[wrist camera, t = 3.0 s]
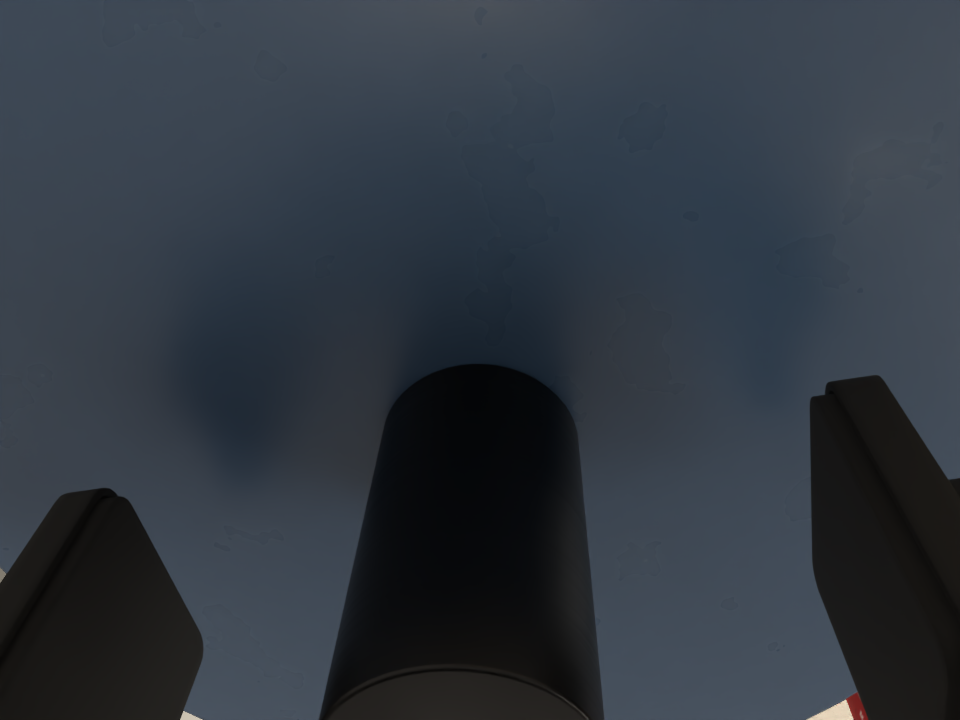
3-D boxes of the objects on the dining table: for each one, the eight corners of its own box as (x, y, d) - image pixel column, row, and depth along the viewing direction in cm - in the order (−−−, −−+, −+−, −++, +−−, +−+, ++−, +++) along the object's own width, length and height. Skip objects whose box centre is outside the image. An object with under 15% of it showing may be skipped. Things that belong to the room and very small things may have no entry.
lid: (1172, -455, 8) (2342, -940, 3) (999, 690, 17) (1221, 1093, 11) (-335, -65, 11) (-1188, 58, 5) (184, 767, 19) (55, 1133, 14)
